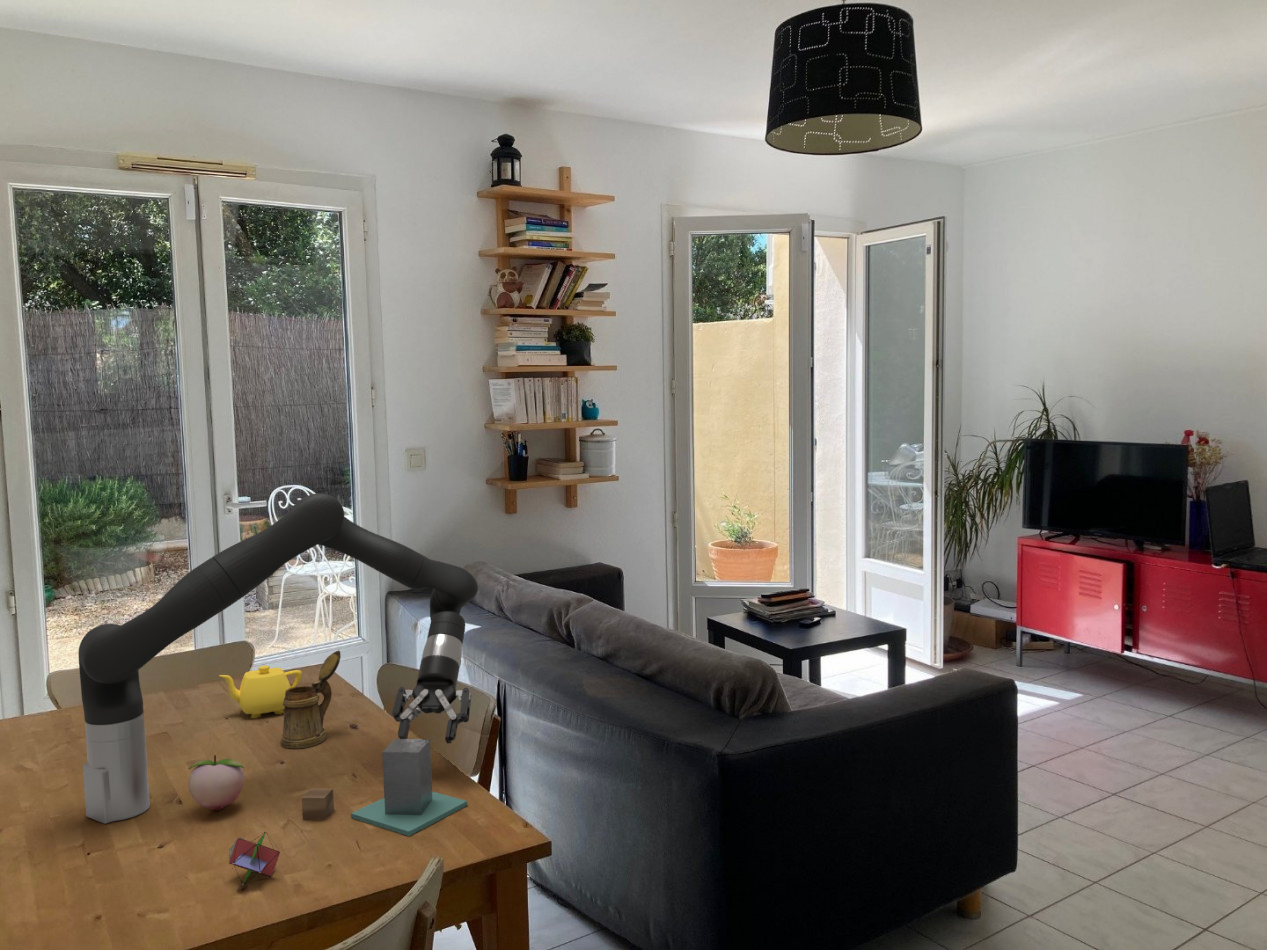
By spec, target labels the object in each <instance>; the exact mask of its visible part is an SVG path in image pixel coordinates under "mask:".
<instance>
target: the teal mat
mask: <svg viewBox="0 0 1267 950" xmlns="http://www.w3.org/2000/svg"><path fill="white" fill-rule="evenodd" d="M467 806H468V801H467V800H465V799H462V798H457V797H454V796H450V795H447V794H443V793H439V792H436V791H433V790H432V801H431V802H430V804H429V805H428V807H427V808H426V809H425V811H424V812H423V814H422V815H393V814H385V801H384V797H383V798H381V799H379V800H376V801H374V802H372V803H370V804H368V805H365V806H363V807H361V808H359V809H357V810H355V811H352V812H351V813H350V817H351V818H350V819H354V820H357V821H361V822H363V823H366V824H369V825H372V826H376V827H379V828H382V829H385V830H388V831H391V832H395V833H398V834H401V835H404V836H407V837H411V836H413V835H414V834H416V833H418V832H420V831H422V830H424V829H425V828H428V827H429V826H431V825H433V824H435V823H437V822H438V821H440V820H442V819H444V818H446V817H448V816H450V815H452V814H454V813H456V812H459V810H462V809H464V808H465V807H467Z"/></svg>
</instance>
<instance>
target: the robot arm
mask: <svg viewBox="0 0 1267 950" xmlns="http://www.w3.org/2000/svg"><path fill="white" fill-rule="evenodd" d="M317 545H319V546H323V547H326V548H329V549H332V550H334V551H336V552H339V553H342V554H343V555H345V556H348V557H350V558H353V559H355V560H357V561H358V562H360V563H363V564H364V565H366V566H368V567H369V568H371V569H373V570H374V571H377V572H378V573H380V574H382V575H385V576H386V577H388V578H389V579H391V580H394V581H395V582H398V583H399V584H401V585H403V586H405V587H407V588H409V589H411V590H413V591H417V592H419V591H422V590H426V589H432V591H431V595H430V599H429V616H430V624H429V628H428V634H427V638H426V642H425V645H424V647H423V651H422V655H421V661H420V666H419V670H418V675H417V680H416V685H415V687H414V688H413V689H406V688H405V687H404V686H401V687H399V688H398V690H397V694H396V697H395V700H394V703H393V704H394V705H393V707H392V711H391V715H392V717H393V718H394V720H395V722H399V727H398V730H397V737H398V739H409V738H408V737H409V731H410V726H411V724H410V723H411V722H412V721H413V720H414V719H416V718H418V717H419V716H421V714H422V713H424V714H431V713H432V714H433V713H434V714H442V713H443V712H445V713H446V716H447V717H448V718H449V719H448V721H447V725H446V726H447V727H446V730H445V739H444V740H445V742H446V744H452V742H453V741H455V740H456V736H457V732H458V726H459V724H461V723H468V722H469V720H470V712H471V704H472V702H471V701H472V693H471V692H470V689H469V688H468V687H463V689H462V690H461V689H460V690H457V685H458V677H459V672H460V667H461V665H462V656H463V643H464V638H465V634H466V633H465V632H466V621H465V619H464V617H463V616H462V615H461V614H460V613H461V611H462V608H463V607H465V606H466V605H467V604H468V603H470V602H471V601H472V600H473V599H474V598H475V597H476V596H477V594H478V590H479V584H478V582H477V580H476V578H475V577H474V576H473V574H472V573H471V572H469V571H468V570H466V569H464V568H462V567H461V566H457V565H453V564H450V563H446V562H443V561H439V560H435V559H434V560H433V559H431V558H428V557H426V556H425V555H423V554H421V553H420V552H417V551H416V550H414V549H413V548H411V547H408V546H407V545H405V544H402V543H400V542H397V541H395V540H393V539H390V538H387V537H385V536H382V535H380V534H377V533H375V532H372V531H370V530H368V529H366V528H365V527H363V526H360V525H358V524H356V523H354V522H353V521H352V520H350V519H349V518H347V517H346V516H345V511H344V507H343V505H342V503H341V502H340V501H339V500H338V499H337V498H336V497H334V496H332V495H330V494H326V493H313V494H309V495H306V496H304V497H302V498H301V499H299V500H298V501H296V502H295V503H294V504H293V505H292V507H291V509H290V511H289V512H287V513H286V514H284V515H283V516H282V517H280V518H279V519H278V520H276V521H275V522H274V523H272V524H271V525H270V526H268V527H267V528H265V529H263V530H262V531H260V532H258V533H256V534H253V535H251V536H249V537H247V538H246V539H243V540H241V541H239V542H236V543H235V544H233V545H231V546H228V547H227V548H225V549H224V550H221V551H220V552H218V553H216V554H214V555H213V556H212V557H209V558H208V559H207V560H205V561H204V562H203V563H201V564H199V565H198V566H196V567H194V568H193V569H192V570H190V571H189V572H188V573H186V574H185V575H184V576H183V577H182V578H180V580H178V581H177V582H176V583H175V584H174V585H172V587H171V588H170V589H169V590H168V591H167V592H166V593H165V594H164V595H163V596H162V597H161V598H160V599H159V600H158V601H157V602H155V603H154V604H153V605H152V606H151V607H150V608H148V609H147V610H145V611H144V612H141V614H139V615H137V616H135V617H133V618H131V619H130V620H128V621H127V622H124V623H123V624H116V623H103V624H100V625H97V626H94V627H93V628H92V629H90V630H88V632H86V634H85V635H84V636H83V637H82V639H81V641H80V642H79V647H78V669H79V670H78V671H79V679H80V680H79V681H80V690H81V691H80V693H81V700H82V702H81V703H82V708H83V717H84V728H85V744H86V757H87V762H85V763H83V765H82V772H83V775H82V776H83V789H84V803H85V814H86V815H85V816H86V817H87V818H89V819H92V820H95V821H97V822H99V823H102V824H105V825H106V824H108V823H111V822H117V821H123V820H127V819H131V818H133V817H137V816H139V815H141V814H143V813H145V812H146V811H148V810H149V808H150V806H151V804H150V787H149V773H148V771H149V770H148V757H147V744H146V743H147V741H146V740H147V739H146V726H145V713H144V701H143V700H144V699H143V693H142V691H141V689H142V688H141V683H140V673H139V670H141V669H142V667H144V666H145V665H146V664H148V663H149V662H150V661H151V660H152V659H154V658H155V657H156V656H157V655H159V654H160V653H161V652H162V651H163V650H164V649H166V648H167V647H168V646H170V645H171V644H172V643H174V642H175V641H176V640H178V639H180V638H181V637H183V636H184V635H187V634H188V633H190V632H191V631H193V630H194V629H196V628H198V627H200V626H201V625H202V624H204V623H205V622H207V621H209V620H211V619H212V618H214V616H216V615H219V614H220V613H221V612H223V611H224V610H226V609H227V608H229V607H231V606H233V605H234V604H235V603H236V602H238V601H239V600H241V599H242V598H244V597H245V596H247V594H249V593H250V592H251V591H253V590H254V589H256V588H257V587H258V586H260V585H261V584H262V583H263V582H265V581H266V580H267V579H269V578H271V576H272V575H274V574H275V573H276V572H277V571H278V570H279V569H280V568H282V567H283V566H284V565H286V564H287V563H288V562H289V561H291V560H292V559H295V558H296V557H297V556H299V555H301V554H303V553H305V552H306V551H308V550H310V549H312V548H313V547H316V546H317ZM411 698H413V699H414V700H413V701H411V703H409V704H408V707H407V708H406V703H408V702H409V701H410V699H411ZM457 698H458V700H459V702H460V711H459V713H456V712H455V711H454V709H453V707H452V706H451V704H452V703H453V702H454V701H455V700H456V699H457ZM405 708H406V709H405Z"/></svg>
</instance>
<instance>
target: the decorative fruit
mask: <svg viewBox="0 0 1267 950" xmlns="http://www.w3.org/2000/svg"><path fill="white" fill-rule="evenodd" d="M213 760H214V761H213ZM213 760H210V759H203V760H199V761H196V762H195V763H193V764H191V765H189V767H188V769H187V770H190V769H192V768H194V769H193V770H192V772H191V773H190V775H189V778H188V779H189V780H188V790H189V794H190V796H191V798H192V800H193V801H194V802H195V803H196V804H197V805H199V806H200V807H202V808H206V809H211V810H216V811H219V810H222V809H223V808H225V807H227V806H228V805H230V804H232V803H233V802H234V801H235V800H236V799H237V798H238V797H239V795H240V794H241V792H242V790H243V788H244V785H245V774H244V771H243V768H245V767H244V765H243V764H242V762H241V763H240V762H239V761H238V760H235V759H232V758H224V759H220V760H217V755H216V754H214V755H213Z"/></svg>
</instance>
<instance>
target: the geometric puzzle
mask: <svg viewBox="0 0 1267 950" xmlns="http://www.w3.org/2000/svg"><path fill="white" fill-rule="evenodd" d="M260 833H261V834H260V835H259V836H257V837H256V838H254V840H252V841H250V840H245V839H244V838H243V837H242V836H240V837H237V838H236V840H235V841H234V842H233V844H232V845H231V847H230V848H229V852H228V853H229V854H228V864H229V865H230V867H231V869H232V870H233V872H234V873H235V875H236V876H237V878H238V879H239V881H240V883H241V884H242V886H244V885H245V884H248V882H249V881H251V880H252V879H254V878H255V877H256V876H258V875H259V874H260V875H262V876H266V878H264V879H265V880H267V877H268V878H273V874H274V871H275V868H276V866H277V863H278V860H279V856H280V853H281V851H280V850H277V849H275V848H274V846H273V845H271V846H272V848H271V847H268V846H264V844H263V841H264V838H265V835H266V836H268V840H269V842H270V843H272V842H273V839H271V836H270V835H269V833H268V832H267V830H265V831H263V832H260ZM258 834H259V832H257V833H256V835H258ZM260 836H261V837H260ZM258 838H260V839H259V840H258V841H257V842H254V841H256V839H258ZM270 839H271V840H270ZM271 841H272V842H271ZM262 844H263V845H262ZM273 844H274V845H275V847H277V845H276V844H275V842H273ZM232 866H234V868H235V870H234V869H233V867H232ZM236 867H238V868H241V869H244V870H246V874H245V877H244V880H243V881H242V880H241V877H240V875H239V872H238V871H237V869H236ZM235 871H236V872H235ZM252 873H255V875H254V876H252V877H251V878H249V877H250V876H251V874H252ZM261 880H263V879H262V878H261V879H260V881H261ZM256 881H259V879H257V880H256ZM253 882H254V881H252V883H253Z"/></svg>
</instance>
